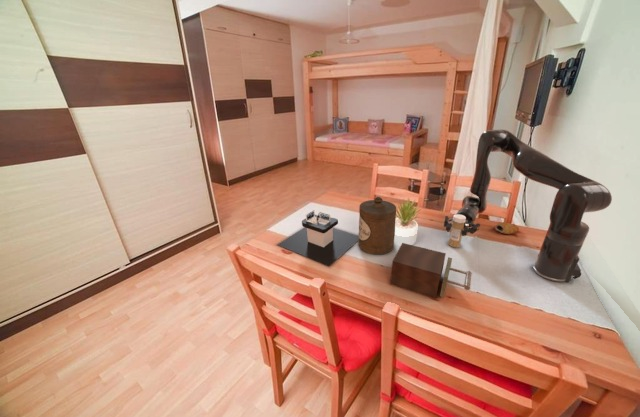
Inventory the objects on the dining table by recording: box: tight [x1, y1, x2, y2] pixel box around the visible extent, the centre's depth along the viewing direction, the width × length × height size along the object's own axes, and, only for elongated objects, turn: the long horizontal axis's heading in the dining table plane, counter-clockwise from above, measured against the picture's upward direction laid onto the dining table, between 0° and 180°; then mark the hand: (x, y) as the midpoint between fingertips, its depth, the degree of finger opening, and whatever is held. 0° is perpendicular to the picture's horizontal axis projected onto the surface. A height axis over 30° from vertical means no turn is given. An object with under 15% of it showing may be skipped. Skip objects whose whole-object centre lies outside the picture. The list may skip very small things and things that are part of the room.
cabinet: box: [389, 242, 447, 299], centre depth 89 cm, size 15×13×10 cm
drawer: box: [439, 256, 472, 298], centre depth 86 cm, size 20×11×8 cm, turn 59°
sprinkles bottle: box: [447, 213, 466, 248], centre depth 107 cm, size 5×5×14 cm
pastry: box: [493, 221, 519, 235], centre depth 118 cm, size 9×7×4 cm
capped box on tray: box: [277, 209, 359, 267], centre depth 114 cm, size 28×26×13 cm
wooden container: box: [358, 196, 397, 255], centre depth 108 cm, size 15×15×22 cm
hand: (455, 231), depth 105 cm, fingers open, 5 cm apart
